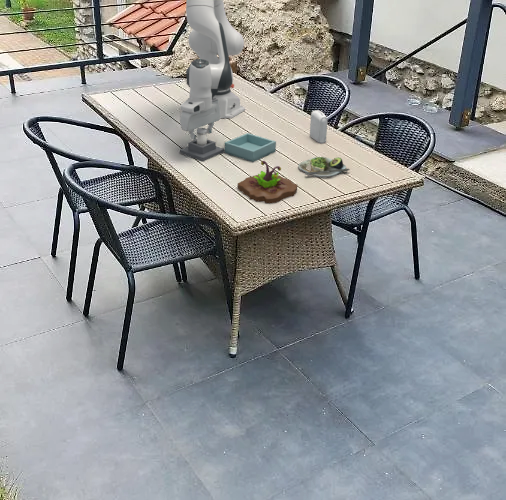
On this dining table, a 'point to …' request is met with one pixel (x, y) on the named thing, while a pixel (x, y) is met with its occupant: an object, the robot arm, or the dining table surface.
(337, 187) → the dining table surface
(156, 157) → the dining table surface
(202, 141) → the cylinder
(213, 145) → the grey square socket
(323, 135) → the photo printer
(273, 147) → the parts tray
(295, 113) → the dining table surface
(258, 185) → the plant
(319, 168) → the salad plate
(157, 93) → the dining table surface
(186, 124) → the robot arm
